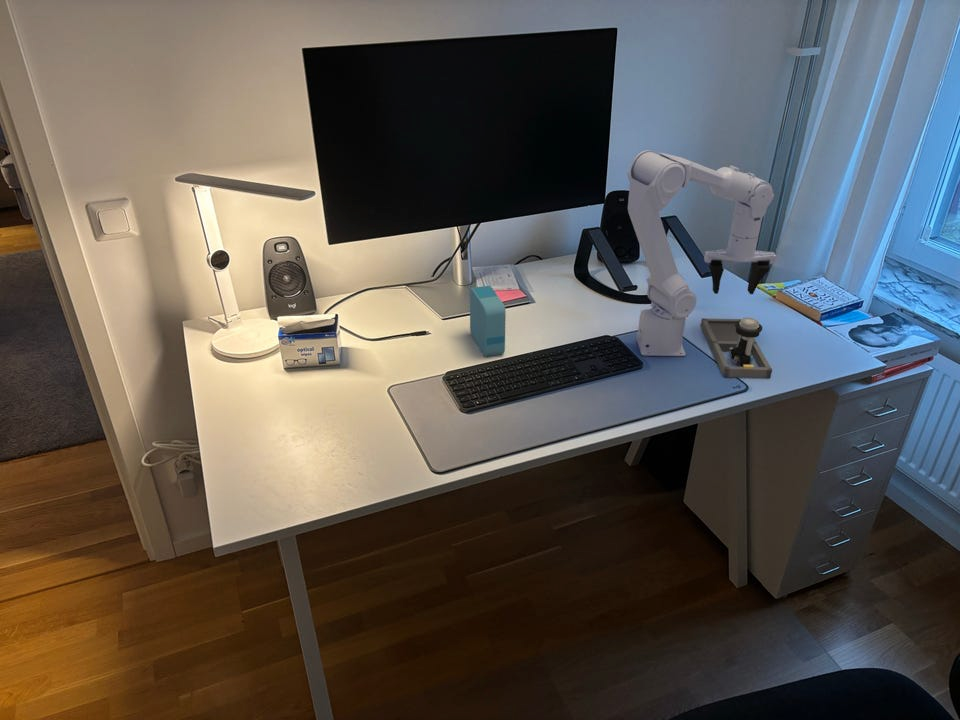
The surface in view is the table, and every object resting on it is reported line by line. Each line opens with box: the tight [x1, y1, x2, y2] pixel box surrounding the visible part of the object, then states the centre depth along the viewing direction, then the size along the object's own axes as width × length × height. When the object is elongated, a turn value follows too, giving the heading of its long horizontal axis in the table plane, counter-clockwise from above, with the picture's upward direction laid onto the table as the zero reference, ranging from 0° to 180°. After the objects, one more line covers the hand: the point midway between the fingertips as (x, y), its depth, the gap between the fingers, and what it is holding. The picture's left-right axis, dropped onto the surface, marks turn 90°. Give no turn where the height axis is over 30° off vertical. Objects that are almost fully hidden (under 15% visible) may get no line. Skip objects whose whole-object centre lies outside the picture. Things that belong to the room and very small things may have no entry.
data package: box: [469, 285, 507, 357], centre depth 160 cm, size 12×4×12 cm, turn 17°
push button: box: [728, 317, 763, 367], centre depth 154 cm, size 7×5×10 cm
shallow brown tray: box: [700, 317, 773, 379], centre depth 160 cm, size 10×22×3 cm, turn 178°
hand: (732, 292), depth 162 cm, fingers open, 7 cm apart
